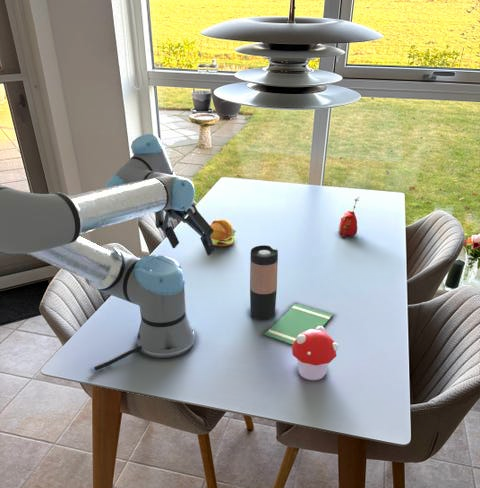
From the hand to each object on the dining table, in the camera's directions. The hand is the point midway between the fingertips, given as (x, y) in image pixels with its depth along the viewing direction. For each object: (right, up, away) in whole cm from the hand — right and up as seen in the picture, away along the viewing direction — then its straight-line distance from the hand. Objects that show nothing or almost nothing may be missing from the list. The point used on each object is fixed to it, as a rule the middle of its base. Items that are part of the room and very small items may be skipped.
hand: (193, 248), depth 153 cm
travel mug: (+21, -20, -4) cm, 29 cm away
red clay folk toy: (+55, +11, +42) cm, 70 cm away
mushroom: (+32, -35, -27) cm, 54 cm away
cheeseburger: (+8, +7, +36) cm, 38 cm away
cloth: (+31, -23, -10) cm, 40 cm away
